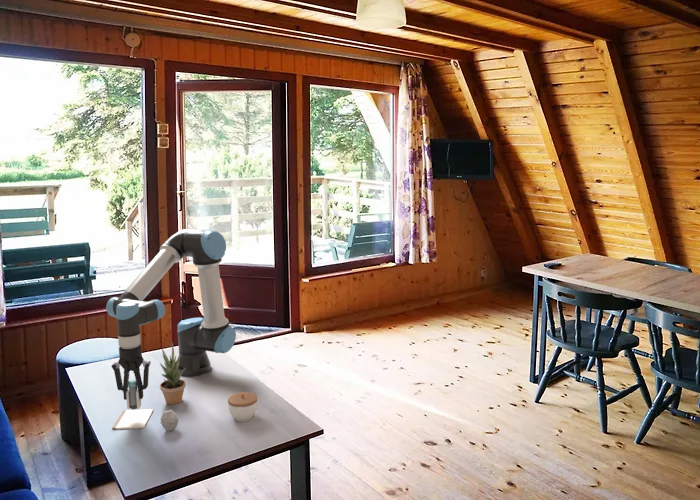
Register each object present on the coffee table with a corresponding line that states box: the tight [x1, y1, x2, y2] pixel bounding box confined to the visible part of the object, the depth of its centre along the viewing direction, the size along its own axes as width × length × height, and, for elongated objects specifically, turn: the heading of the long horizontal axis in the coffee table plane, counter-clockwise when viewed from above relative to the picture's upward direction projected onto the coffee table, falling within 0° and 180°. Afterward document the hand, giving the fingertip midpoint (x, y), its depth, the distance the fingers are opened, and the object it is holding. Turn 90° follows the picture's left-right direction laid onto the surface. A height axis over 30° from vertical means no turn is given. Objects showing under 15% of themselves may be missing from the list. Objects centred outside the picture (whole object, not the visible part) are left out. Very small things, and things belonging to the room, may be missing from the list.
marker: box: [128, 379, 138, 410], centre depth 214 cm, size 3×3×10 cm
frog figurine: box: [160, 409, 179, 432], centre depth 208 cm, size 6×7×7 cm
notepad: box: [111, 408, 154, 430], centre depth 216 cm, size 11×14×1 cm
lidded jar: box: [227, 391, 258, 422], centre depth 217 cm, size 11×11×9 cm
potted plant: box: [159, 341, 186, 405], centre depth 230 cm, size 10×10×25 cm
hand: (134, 407), depth 215 cm, fingers closed on marker, 3 cm apart
